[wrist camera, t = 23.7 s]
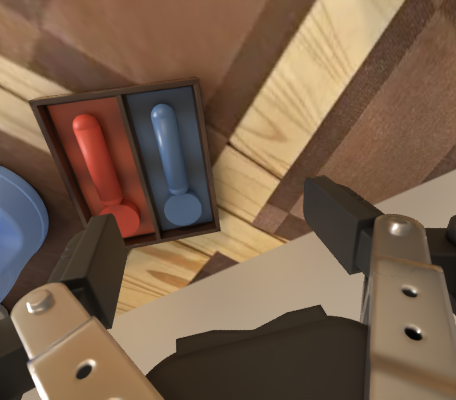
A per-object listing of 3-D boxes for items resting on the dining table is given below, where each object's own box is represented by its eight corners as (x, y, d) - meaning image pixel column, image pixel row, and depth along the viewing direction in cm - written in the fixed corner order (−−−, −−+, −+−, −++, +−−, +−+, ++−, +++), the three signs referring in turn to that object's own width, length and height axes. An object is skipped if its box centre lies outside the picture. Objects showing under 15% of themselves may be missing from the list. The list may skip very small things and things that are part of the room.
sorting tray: (38, 97, 31) (27, 100, 28) (196, 76, 33) (198, 78, 30) (100, 244, 41) (96, 255, 38) (218, 221, 43) (220, 231, 40)
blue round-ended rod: (139, 105, 32) (136, 109, 30) (182, 99, 33) (183, 102, 30) (168, 222, 40) (168, 233, 38) (203, 215, 41) (205, 225, 38)
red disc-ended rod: (62, 115, 31) (52, 120, 29) (108, 109, 32) (103, 113, 29) (108, 233, 39) (104, 245, 37) (144, 226, 40) (143, 237, 37)
